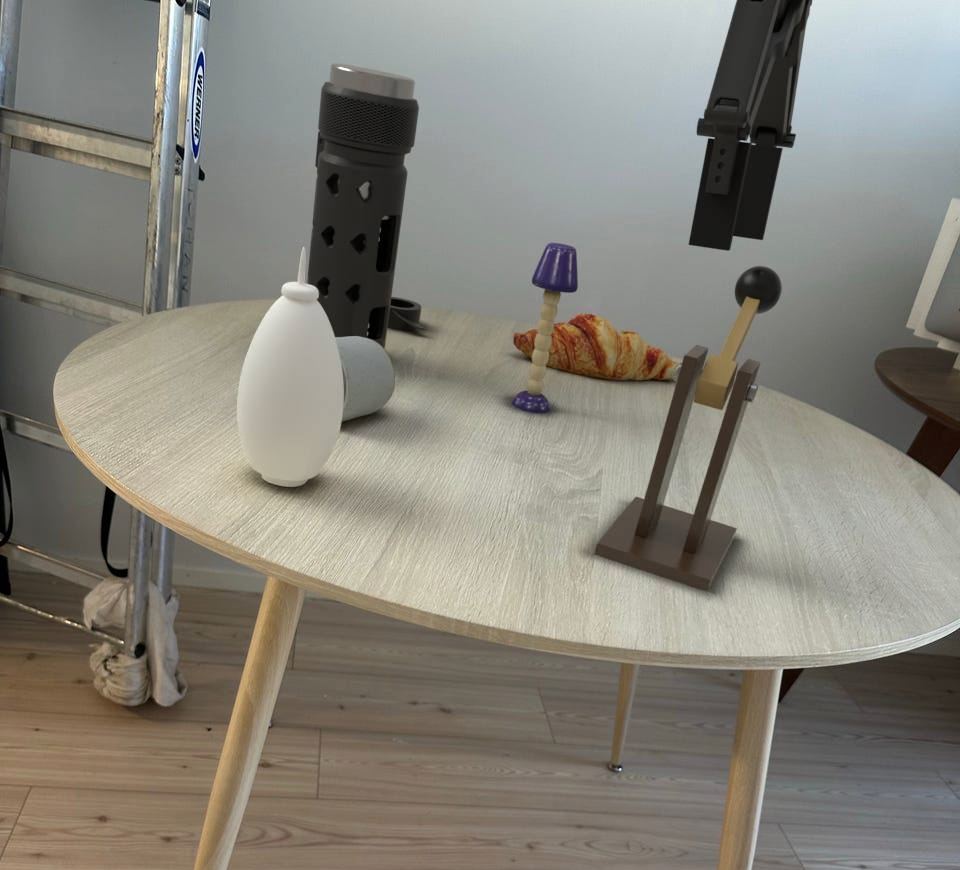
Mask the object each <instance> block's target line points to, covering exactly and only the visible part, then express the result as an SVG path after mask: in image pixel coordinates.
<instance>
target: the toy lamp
mask: <svg viewBox="0 0 960 870" xmlns="http://www.w3.org/2000/svg"><path fill="white" fill-rule="evenodd" d="M577 253H578V252H577V249H576V247H574V246H572V245H568V244H564V243H560V242H549V243H548V244H546V246H545V248H544V250H543V252H542V255H541V256H540V259H539V260H538V263H537V265H536V268H535V271H534V273H533V275H532V278H531V284H532V285H533V286H535V287H537V288H540V289H543V290H544V291H543V296H542V299H543V300H542V301H543V303H542V304H541V306H540V312H539V313H540V314H539V315H540V318H539V320H538V323H537V326H536V327H537V328H536V329H537V330H538V334H537V335H536V337H535V343H534V344H535V349H534V351H533V354H532V358H531V361H532V363H531V365H530V367H529V378H528V381H527V384H526V390H523V391H520V392H518V393H517V394H516V395H515V396H514V397H513V398H512V400H511V405H512V406H513V407H514V408H516V409H518V410H521V411H523V412H526V413H527V412H528V413H532V414H547V413H549V412H550V411H551V405H550V402H549V399H548V398H547V397H546V396H545V395H544V394H543V393H542V392H543V389H544V379H545V377H546V374H547V366H546V364H547V362H548V359H549V352H548V350H549V348H550V346H551V341H552V339H551V334H552V333H553V330H554V324H555V319H556V317H557V315H558V304H559V303H560V300H561V295H562V293H567V294H571V293H572V294H573V293H576V292H577V291H578V287H579V280H578V275H579V274H578V273H579V272H578V254H577Z"/></svg>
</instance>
